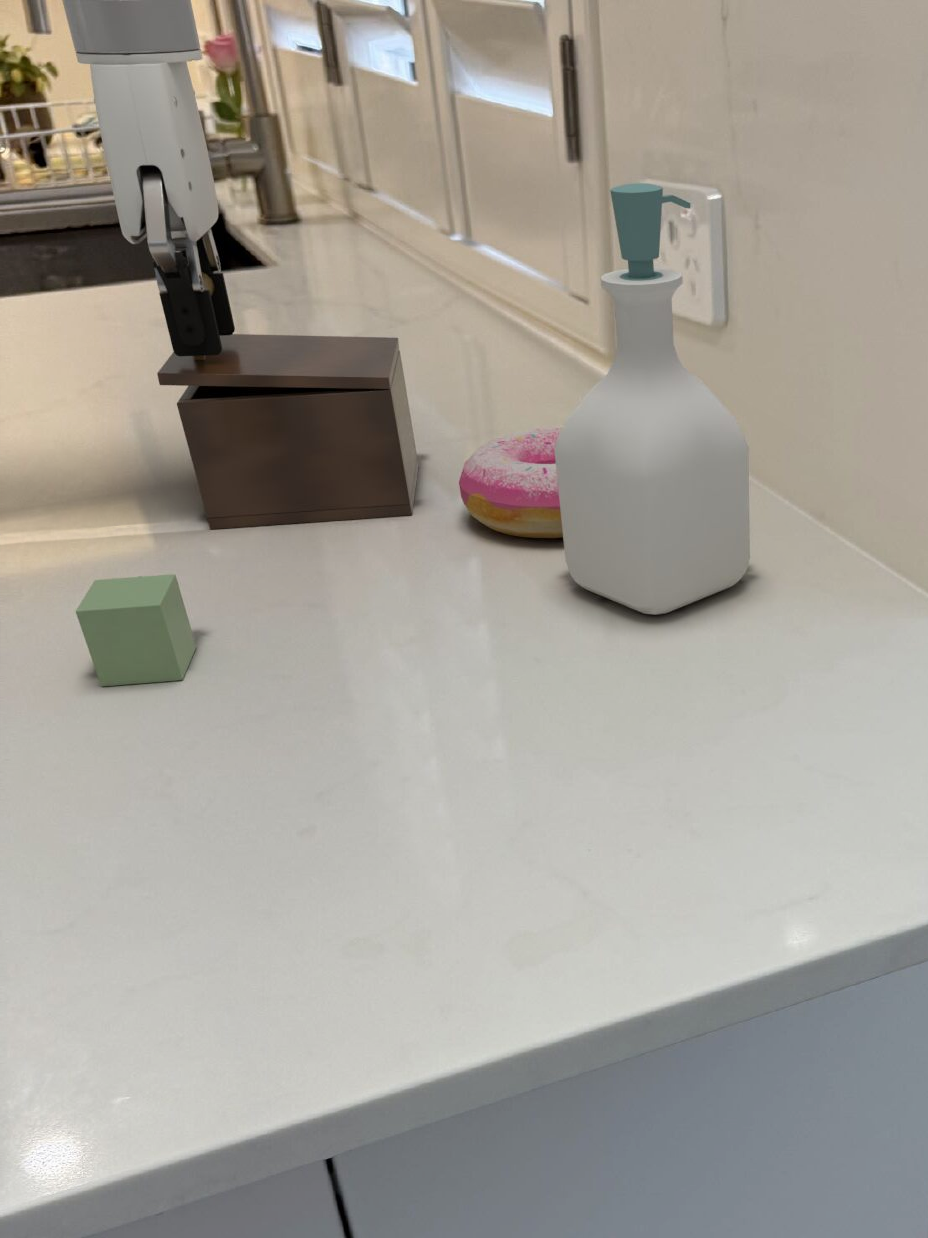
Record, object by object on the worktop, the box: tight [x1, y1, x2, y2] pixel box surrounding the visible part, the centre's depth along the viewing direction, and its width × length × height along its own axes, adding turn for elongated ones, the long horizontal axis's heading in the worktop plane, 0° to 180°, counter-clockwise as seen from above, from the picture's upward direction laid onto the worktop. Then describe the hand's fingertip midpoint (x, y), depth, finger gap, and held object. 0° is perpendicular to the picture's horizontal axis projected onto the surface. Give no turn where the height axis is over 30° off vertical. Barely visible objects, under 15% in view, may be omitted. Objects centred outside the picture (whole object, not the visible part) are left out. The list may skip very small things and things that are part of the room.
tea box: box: [176, 349, 420, 530], centre depth 99 cm, size 15×12×9 cm
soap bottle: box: [555, 182, 751, 616], centre depth 79 cm, size 10×10×23 cm
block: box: [75, 573, 197, 687], centre depth 77 cm, size 5×5×5 cm
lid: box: [156, 272, 400, 389], centre depth 94 cm, size 15×12×6 cm
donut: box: [458, 426, 563, 539], centre depth 95 cm, size 14×13×5 cm
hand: (205, 341), depth 94 cm, fingers closed on lid, 5 cm apart
